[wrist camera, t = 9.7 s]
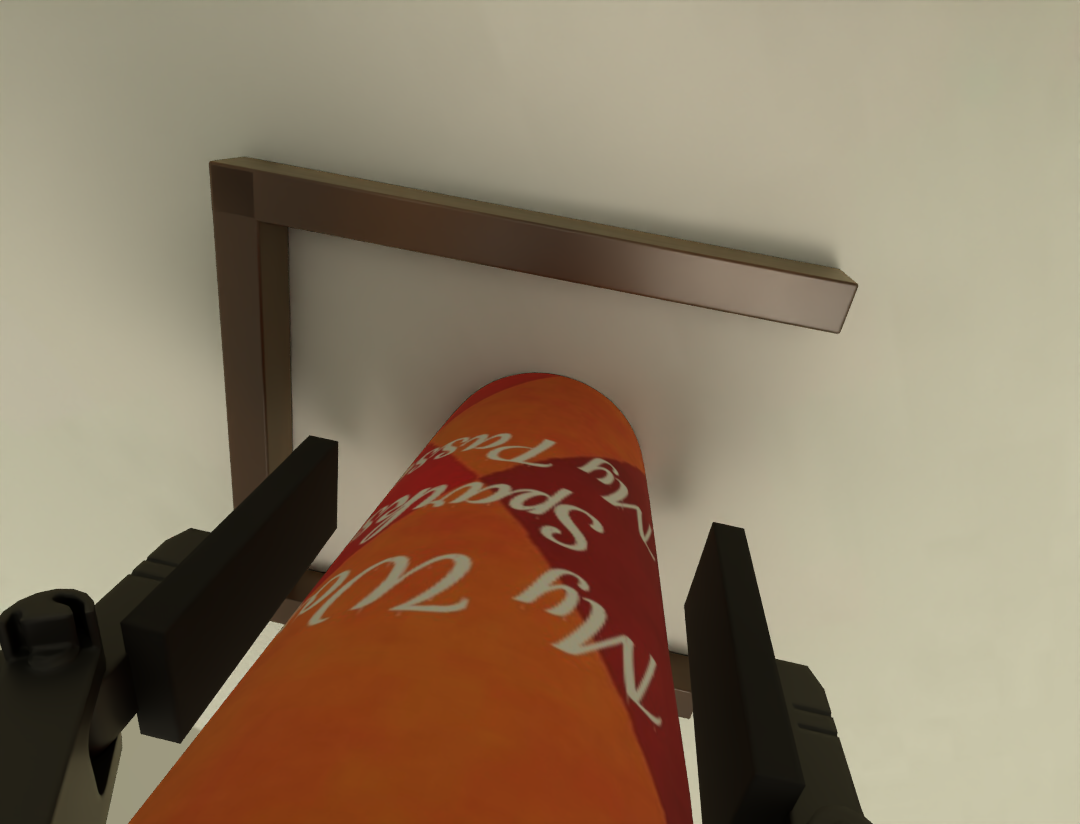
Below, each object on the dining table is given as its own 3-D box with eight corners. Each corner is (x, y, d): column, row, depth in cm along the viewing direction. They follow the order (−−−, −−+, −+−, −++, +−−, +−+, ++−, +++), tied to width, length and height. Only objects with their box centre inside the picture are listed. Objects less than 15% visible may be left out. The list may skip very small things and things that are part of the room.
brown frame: (263, 584, 23) (240, 614, 21) (242, 155, 16) (207, 160, 15) (687, 682, 22) (689, 719, 21) (841, 269, 15) (860, 284, 14)
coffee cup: (684, 325, 17) (859, 1253, 3) (682, 578, 20) (765, 1535, 7) (378, 338, 18) (-395, 1019, 5) (427, 572, 21) (66, 1352, 8)
